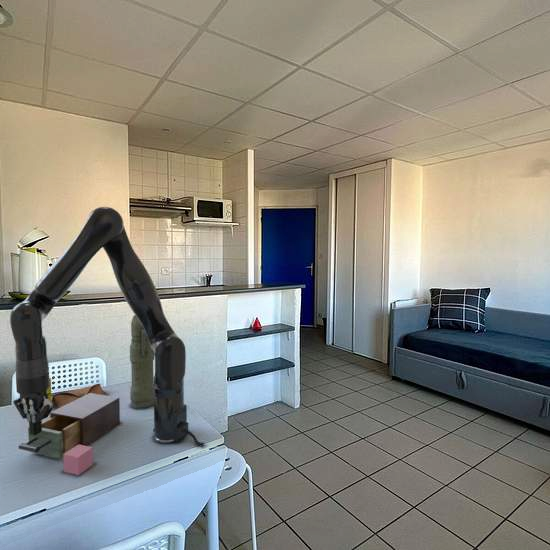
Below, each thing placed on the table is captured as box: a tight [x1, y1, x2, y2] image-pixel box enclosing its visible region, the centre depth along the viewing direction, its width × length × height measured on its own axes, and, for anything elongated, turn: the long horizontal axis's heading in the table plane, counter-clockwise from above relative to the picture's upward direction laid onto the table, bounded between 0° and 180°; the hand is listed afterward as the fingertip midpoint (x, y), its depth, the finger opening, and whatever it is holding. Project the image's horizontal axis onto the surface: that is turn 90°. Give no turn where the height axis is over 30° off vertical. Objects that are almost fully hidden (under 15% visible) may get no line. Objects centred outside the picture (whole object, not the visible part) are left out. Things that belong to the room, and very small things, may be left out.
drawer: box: [18, 416, 81, 459], centre depth 104 cm, size 19×11×7 cm, turn 163°
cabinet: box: [49, 393, 121, 446], centre depth 114 cm, size 16×13×9 cm
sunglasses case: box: [51, 383, 108, 410], centre depth 138 cm, size 18×7×7 cm, turn 138°
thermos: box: [129, 314, 155, 410], centre depth 134 cm, size 9×12×35 cm
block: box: [62, 444, 94, 476], centre depth 95 cm, size 5×5×5 cm
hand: (35, 433), depth 97 cm, fingers closed
